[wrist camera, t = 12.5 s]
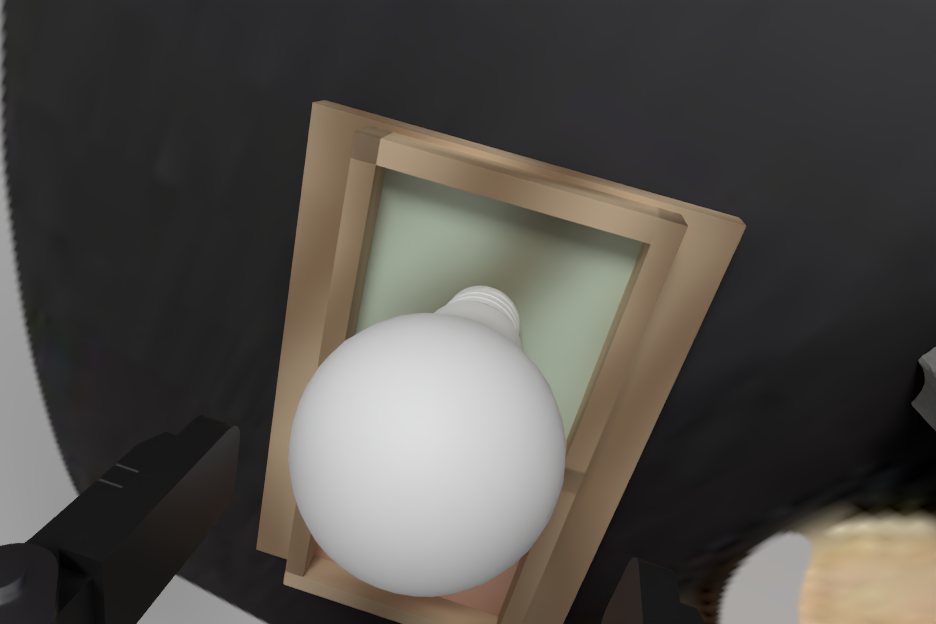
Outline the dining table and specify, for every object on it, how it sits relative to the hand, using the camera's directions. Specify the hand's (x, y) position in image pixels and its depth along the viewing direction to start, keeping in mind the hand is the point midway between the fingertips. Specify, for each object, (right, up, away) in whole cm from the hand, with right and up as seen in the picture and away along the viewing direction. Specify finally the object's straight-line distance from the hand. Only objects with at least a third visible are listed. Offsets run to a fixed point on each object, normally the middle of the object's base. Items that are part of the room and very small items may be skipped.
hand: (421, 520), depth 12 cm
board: (+1, 0, +12) cm, 12 cm away
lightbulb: (+2, +4, +9) cm, 10 cm away
